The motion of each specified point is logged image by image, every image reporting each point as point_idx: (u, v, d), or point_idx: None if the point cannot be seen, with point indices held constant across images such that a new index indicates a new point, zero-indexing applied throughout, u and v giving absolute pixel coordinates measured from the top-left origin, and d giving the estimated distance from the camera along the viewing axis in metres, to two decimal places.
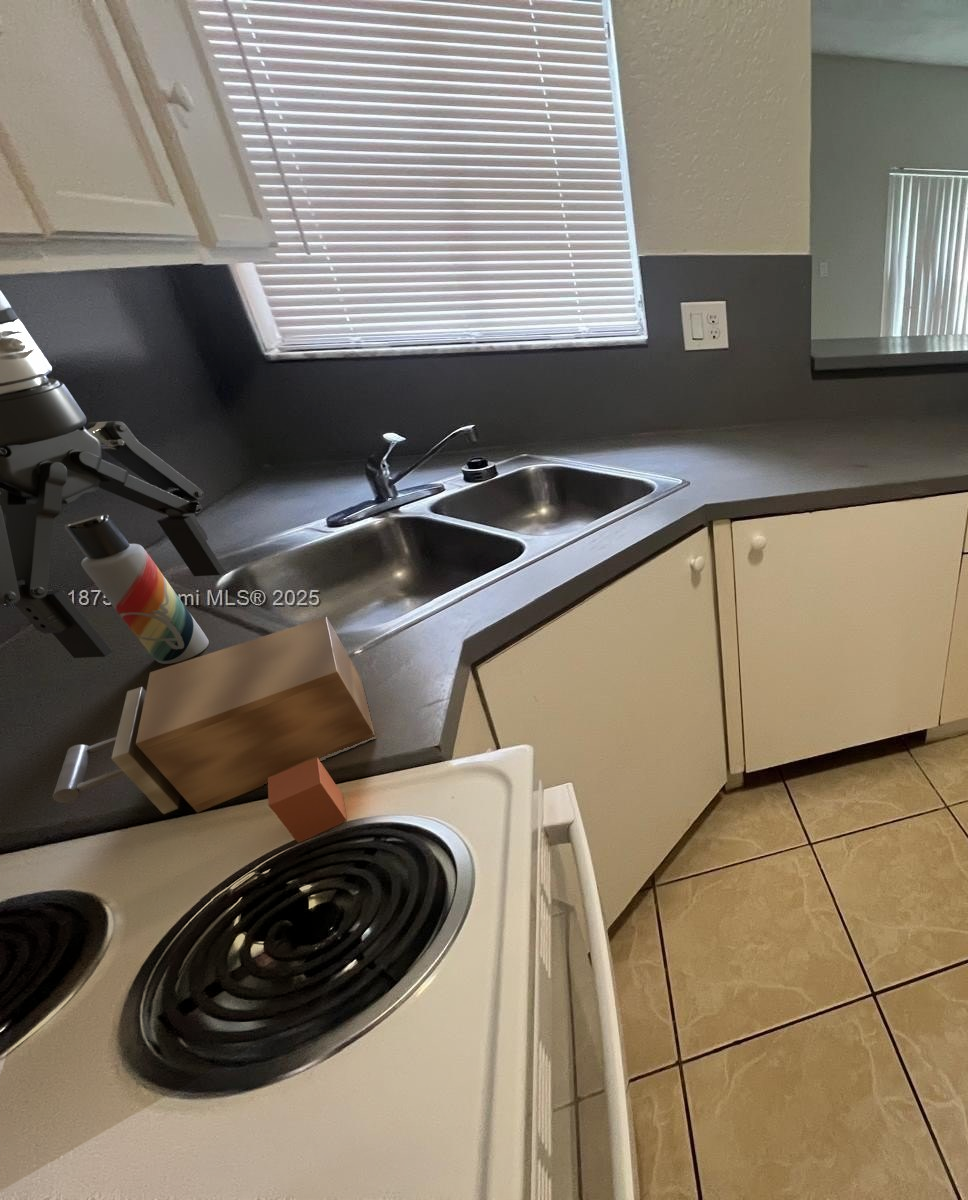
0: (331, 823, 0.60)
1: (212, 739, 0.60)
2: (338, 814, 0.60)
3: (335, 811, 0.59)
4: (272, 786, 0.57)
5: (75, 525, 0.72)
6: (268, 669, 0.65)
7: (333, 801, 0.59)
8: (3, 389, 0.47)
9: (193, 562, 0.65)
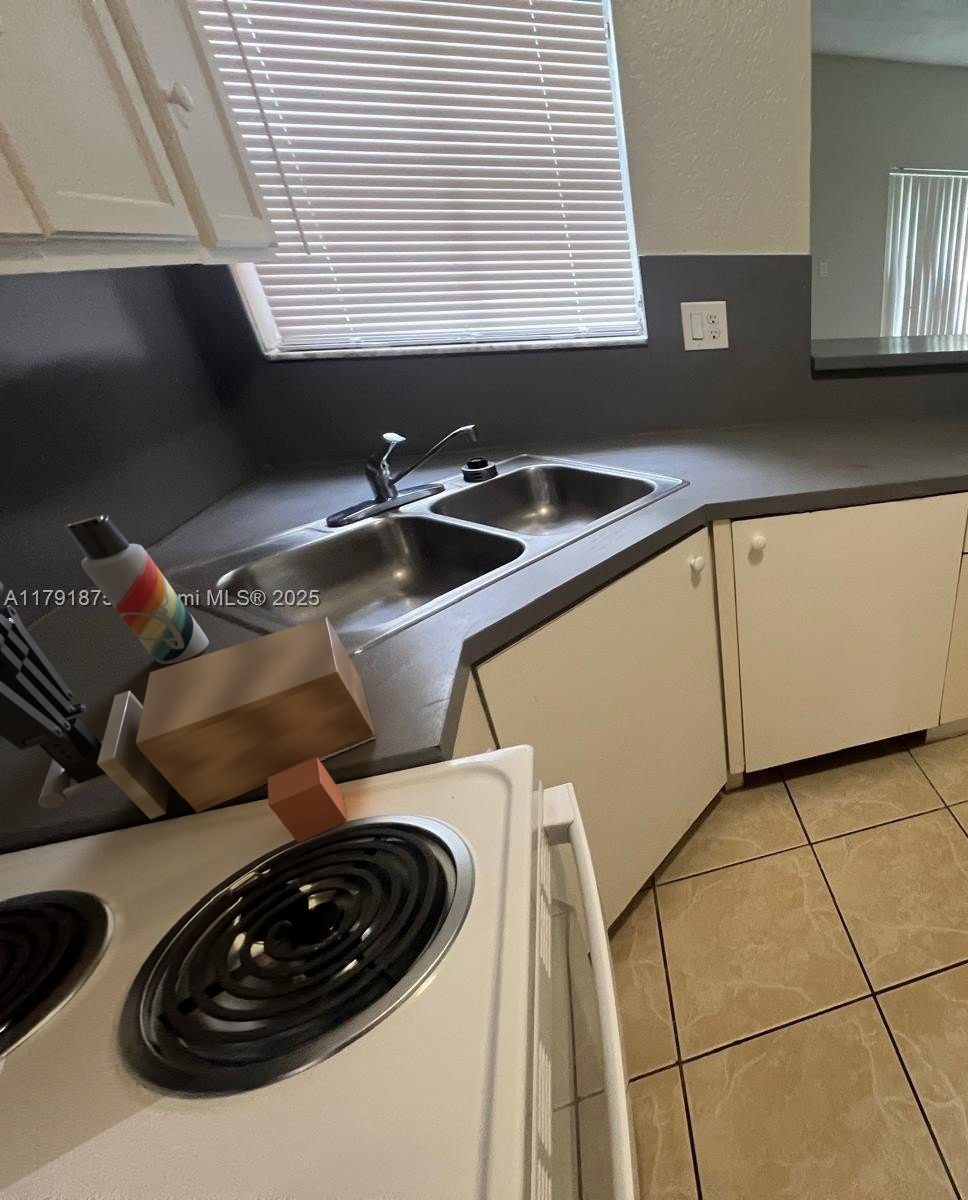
0: (331, 823, 0.60)
1: (212, 739, 0.60)
2: (338, 814, 0.60)
3: (335, 811, 0.59)
4: (272, 786, 0.57)
5: (75, 525, 0.72)
6: (268, 669, 0.65)
7: (333, 801, 0.59)
8: None
9: None
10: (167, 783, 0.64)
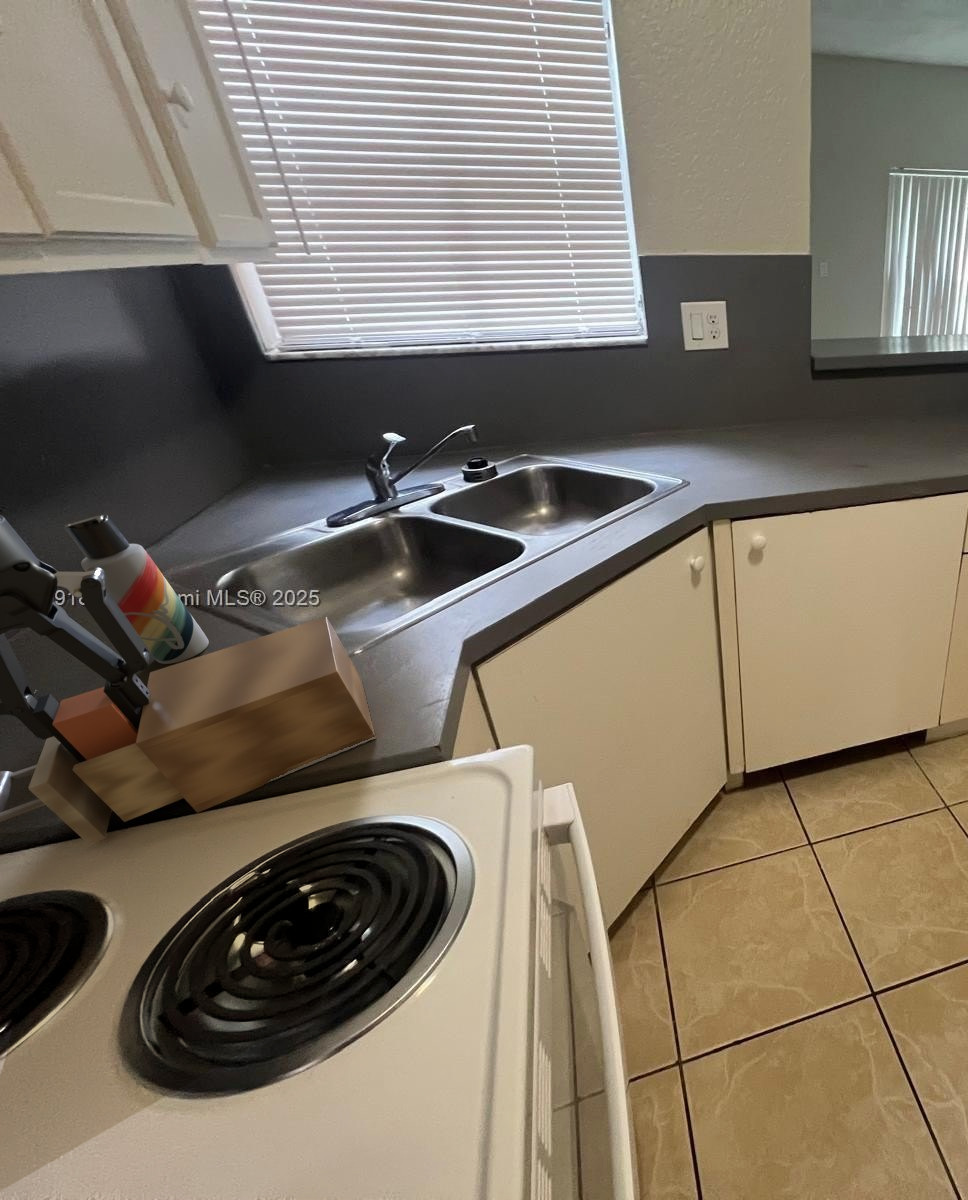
0: None
1: (212, 739, 0.60)
2: None
3: (132, 735, 0.60)
4: (62, 708, 0.58)
5: (75, 525, 0.72)
6: (268, 669, 0.65)
7: (129, 725, 0.59)
8: None
9: None
10: None
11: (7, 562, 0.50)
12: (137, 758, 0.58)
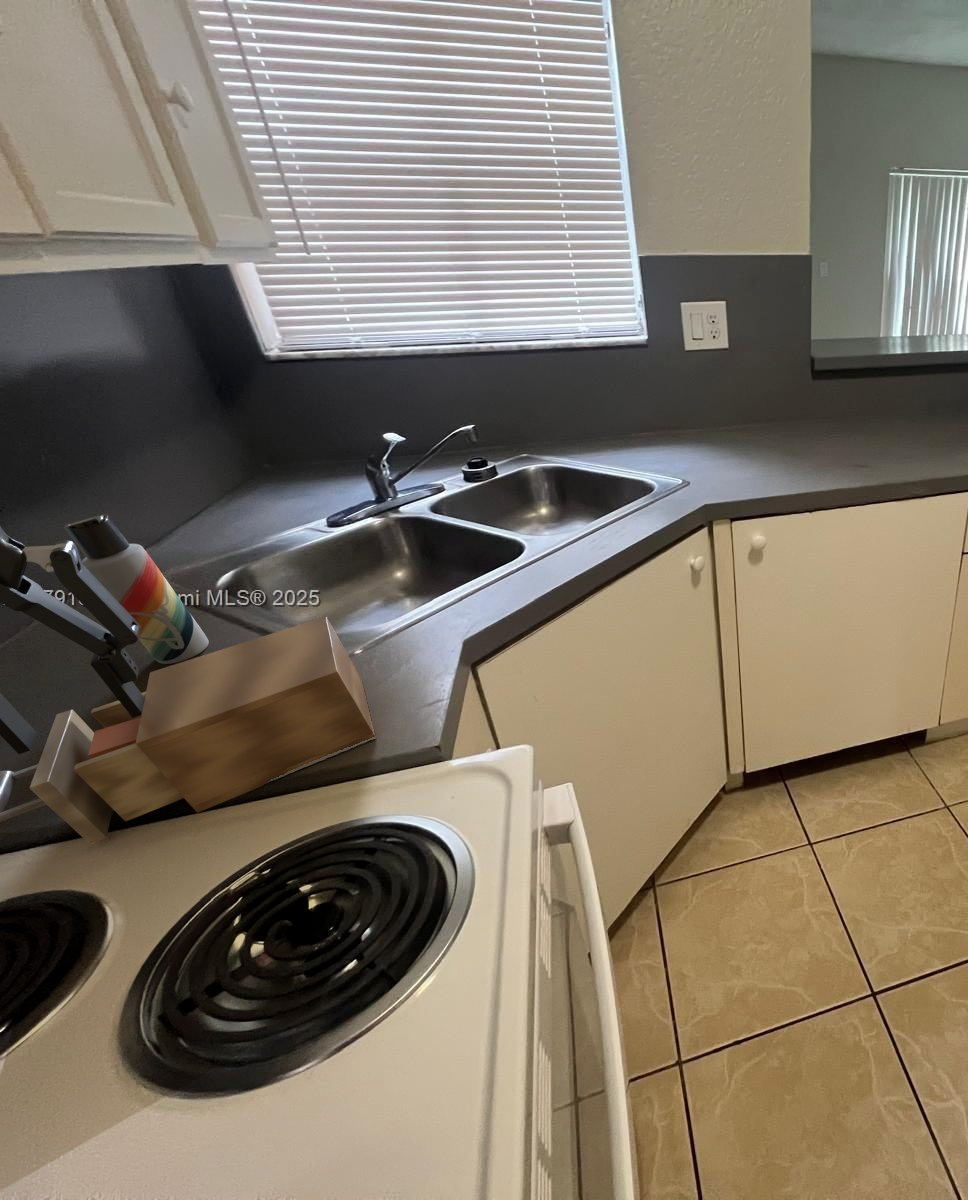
0: None
1: (212, 739, 0.60)
2: None
3: None
4: (97, 739, 0.60)
5: (75, 525, 0.72)
6: (268, 669, 0.65)
7: None
8: None
9: None
10: None
11: None
12: (138, 757, 0.58)
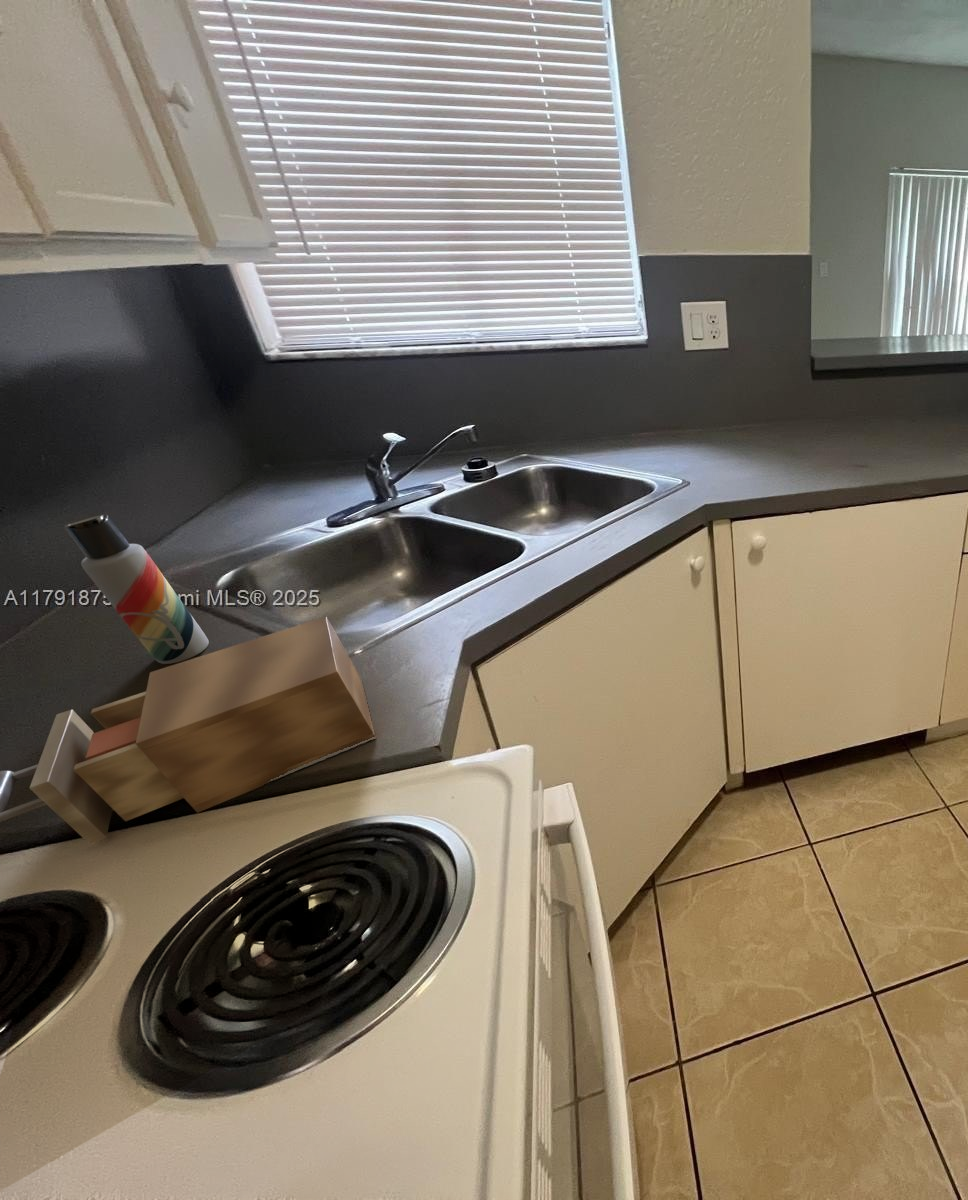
0: None
1: (212, 739, 0.60)
2: None
3: None
4: (94, 741, 0.60)
5: (75, 525, 0.72)
6: (268, 669, 0.65)
7: None
8: None
9: None
10: None
11: None
12: (138, 758, 0.58)
